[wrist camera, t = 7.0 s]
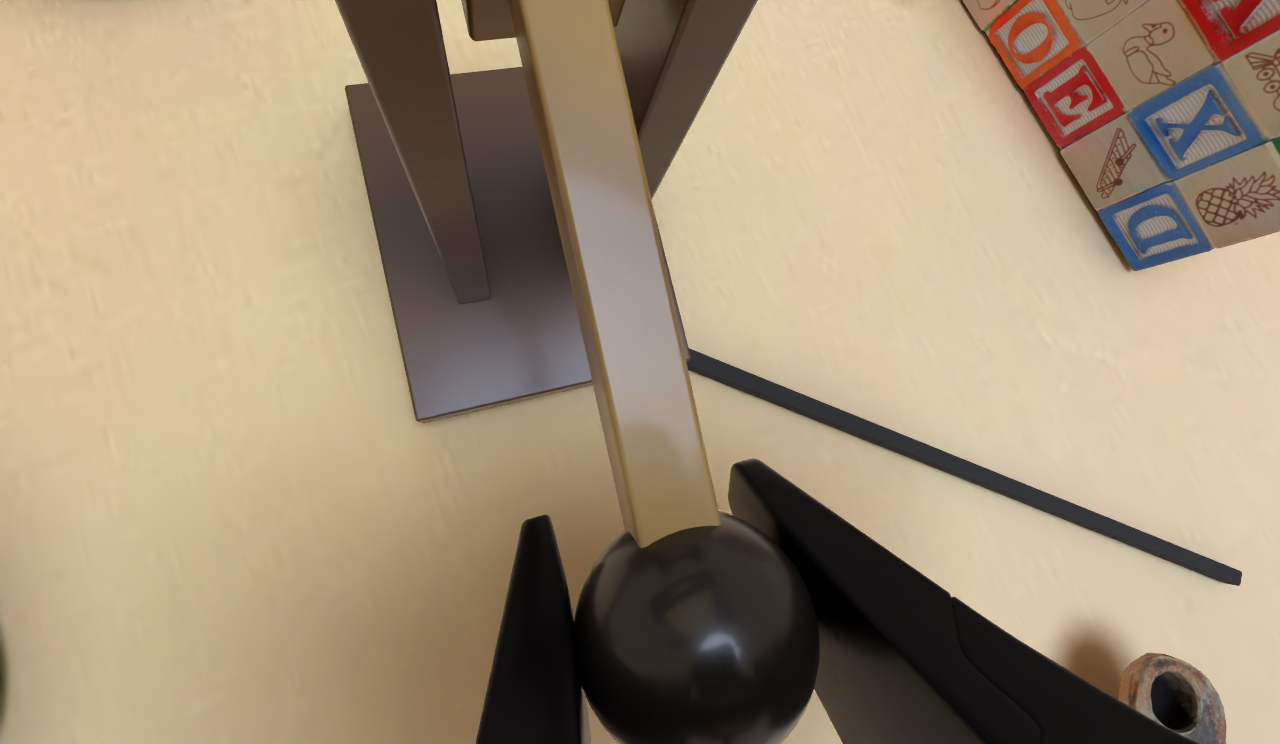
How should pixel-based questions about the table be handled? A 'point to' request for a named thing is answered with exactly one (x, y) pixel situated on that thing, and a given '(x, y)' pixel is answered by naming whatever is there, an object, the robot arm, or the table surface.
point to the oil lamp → (1174, 697)
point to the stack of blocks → (1155, 112)
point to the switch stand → (499, 192)
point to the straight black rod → (957, 466)
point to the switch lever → (650, 431)
